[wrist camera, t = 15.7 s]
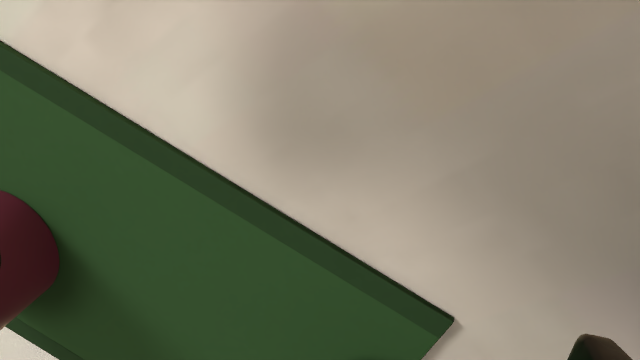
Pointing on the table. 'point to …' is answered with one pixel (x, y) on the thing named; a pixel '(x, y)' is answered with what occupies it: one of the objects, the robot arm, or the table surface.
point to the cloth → (179, 249)
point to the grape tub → (23, 257)
